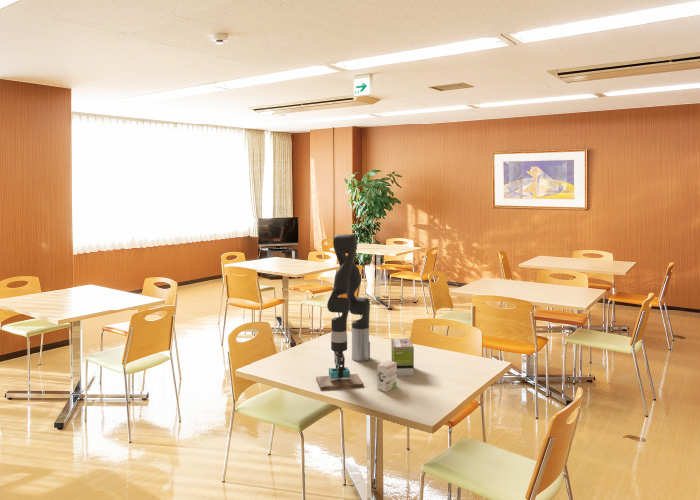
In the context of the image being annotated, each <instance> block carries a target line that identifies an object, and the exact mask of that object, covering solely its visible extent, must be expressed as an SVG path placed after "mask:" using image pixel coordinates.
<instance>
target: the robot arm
mask: <svg viewBox="0 0 700 500" xmlns="http://www.w3.org/2000/svg"><path fill="white" fill-rule="evenodd" d="M332 245H333V250H334V253H335V256H336V259H337V262H338V264H339V268H338V269H337V271H336V273H335V275H334V281H333V288H332V291H331V293H330V296H329V298H328V300H327V304H326V308H327V310H328V311H329V312H330V313H341V315H340V316H336V317H335V316H334V317H332V319H331V333H330V349H331V351H333V354H334V355H333V357H334V365H335V368H337V367H338V377H339V378H341V377H343V369H344V367H345V363H346V362H345V361H346V358H345V353H344V352H346V351H347V350H348V331H347V330H348V329H347V328H348V327H347V326H348V325H347V324H348V316H349V313H350V314H351V315H356V316H357V315H358V316H361V318H360V319H355V320H354V321H352V322H351V359H352V360H353V361H357V362H364V361H368V360H369V361H370V360H371V341H370V313H371V312H370V311H371V303H370V302H371V301H370V299H369V298H368V297H357V296H356V295H355V293H356V291H357V290H358V288H359V287H360V285H361V283H362V277H361V273H360V272H361V271H360V269H359V267H358V266H357V265H356V263H354V261H355V256H356V253H357V250H358V239H357V237H356V235H355V234H353V233H352V234H347V233H346V234H337V235H334V236H333V241H332ZM342 295H346V297H340V296H342Z"/></svg>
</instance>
